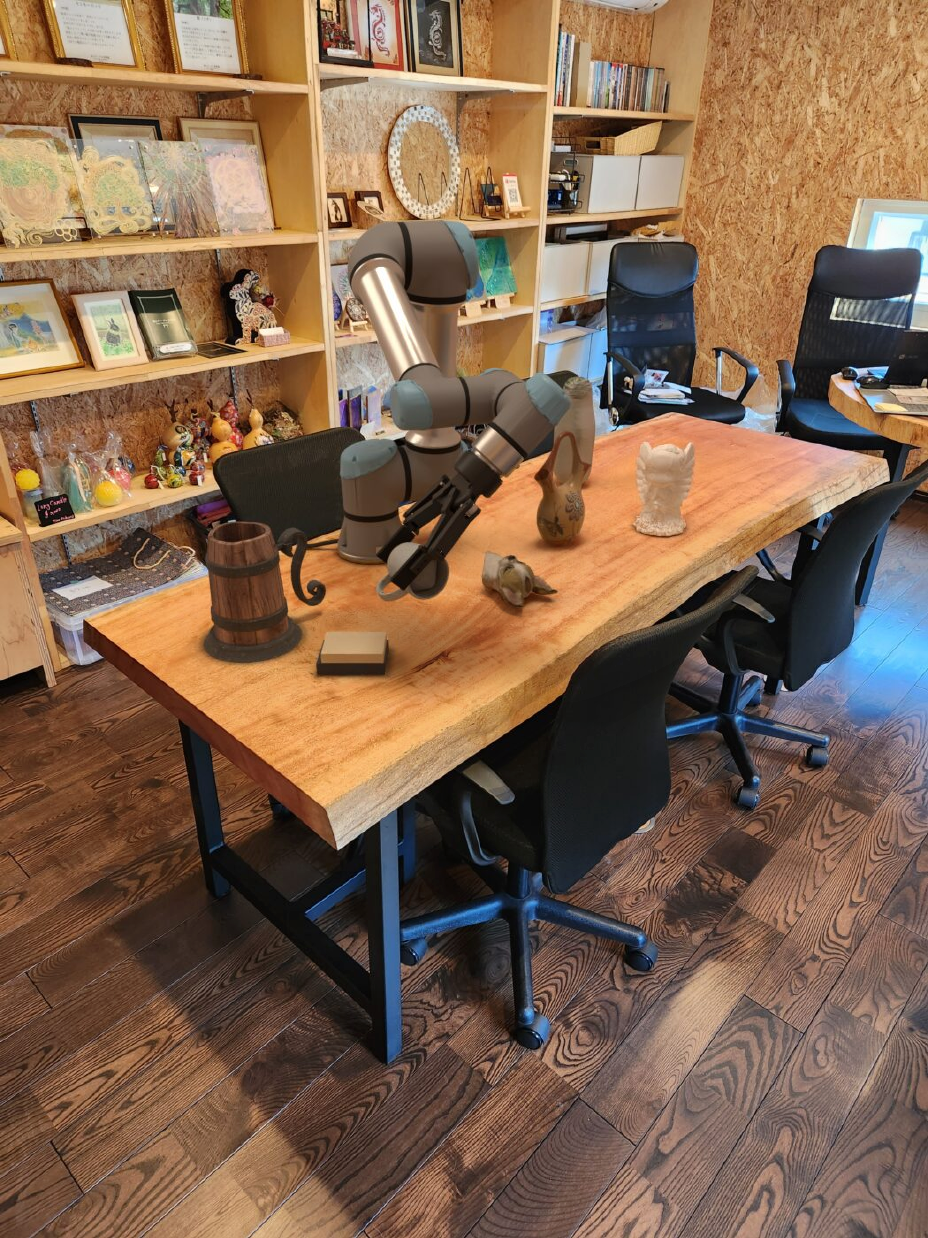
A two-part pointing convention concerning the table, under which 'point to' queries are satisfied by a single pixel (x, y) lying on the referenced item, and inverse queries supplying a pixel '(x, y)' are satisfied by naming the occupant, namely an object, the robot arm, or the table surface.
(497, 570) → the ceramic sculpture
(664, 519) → the cherub figurine
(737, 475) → the table surface
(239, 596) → the tankard
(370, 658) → the stone
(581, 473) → the ceramic vessel
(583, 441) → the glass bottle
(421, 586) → the ceramic mug
